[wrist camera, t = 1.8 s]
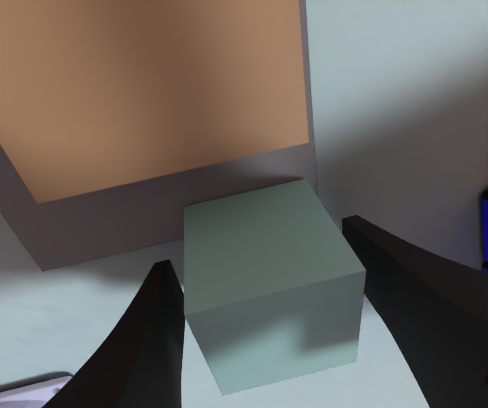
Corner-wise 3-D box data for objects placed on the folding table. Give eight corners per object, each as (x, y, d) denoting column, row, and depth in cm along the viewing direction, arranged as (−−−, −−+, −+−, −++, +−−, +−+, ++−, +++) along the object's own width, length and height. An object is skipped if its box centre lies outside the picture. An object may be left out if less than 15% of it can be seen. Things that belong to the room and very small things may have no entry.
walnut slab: (68, 169, 11) (37, 204, 9) (-103, -157, 7) (-243, -245, 5) (286, 121, 11) (308, 142, 9) (249, -220, 7) (275, -331, 5)
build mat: (45, 266, 13) (42, 271, 13) (-227, -125, 7) (-243, -132, 7) (315, 203, 13) (318, 206, 13) (288, -218, 7) (291, -227, 7)
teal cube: (212, 286, 15) (222, 395, 11) (183, 206, 12) (184, 315, 8) (310, 263, 15) (356, 361, 11) (305, 178, 12) (366, 270, 8)
